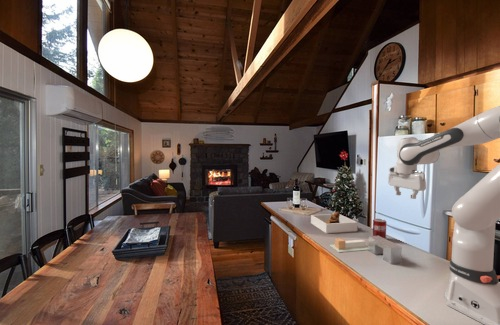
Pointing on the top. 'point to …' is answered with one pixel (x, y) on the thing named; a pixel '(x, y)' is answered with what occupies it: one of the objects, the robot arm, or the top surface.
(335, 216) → the bear figurine
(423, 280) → the top surface
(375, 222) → the soda can
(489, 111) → the robot arm
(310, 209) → the top surface
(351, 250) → the pad
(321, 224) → the white shallow square tray
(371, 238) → the notched metal block
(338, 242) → the plug
